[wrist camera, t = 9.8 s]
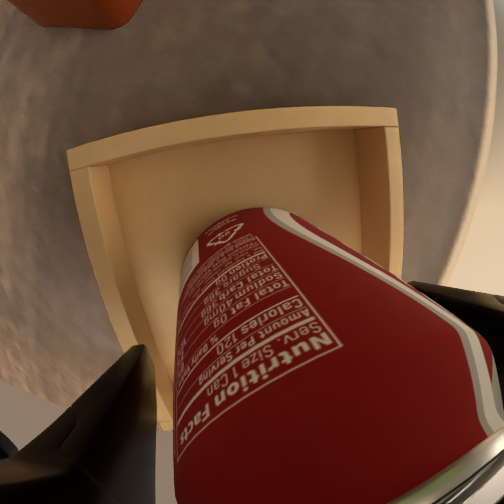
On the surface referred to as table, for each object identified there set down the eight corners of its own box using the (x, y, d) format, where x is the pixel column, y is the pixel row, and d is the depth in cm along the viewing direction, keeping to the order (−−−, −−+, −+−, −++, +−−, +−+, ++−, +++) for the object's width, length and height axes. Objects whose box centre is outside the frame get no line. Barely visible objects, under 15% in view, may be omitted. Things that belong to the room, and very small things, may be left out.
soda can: (162, 317, 13) (151, 591, 2) (213, 180, 12) (438, 435, 1) (286, 350, 15) (390, 552, 4) (345, 236, 14) (567, 385, 3)
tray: (365, 347, 17) (388, 374, 14) (164, 394, 15) (163, 431, 13) (361, 114, 13) (396, 107, 10) (91, 151, 11) (65, 150, 8)
